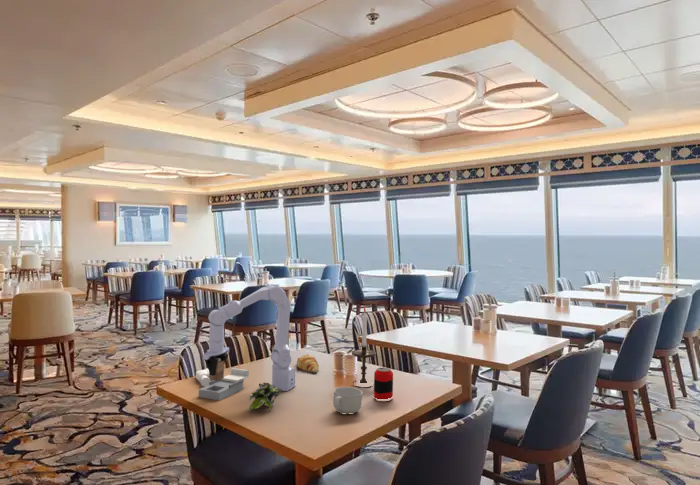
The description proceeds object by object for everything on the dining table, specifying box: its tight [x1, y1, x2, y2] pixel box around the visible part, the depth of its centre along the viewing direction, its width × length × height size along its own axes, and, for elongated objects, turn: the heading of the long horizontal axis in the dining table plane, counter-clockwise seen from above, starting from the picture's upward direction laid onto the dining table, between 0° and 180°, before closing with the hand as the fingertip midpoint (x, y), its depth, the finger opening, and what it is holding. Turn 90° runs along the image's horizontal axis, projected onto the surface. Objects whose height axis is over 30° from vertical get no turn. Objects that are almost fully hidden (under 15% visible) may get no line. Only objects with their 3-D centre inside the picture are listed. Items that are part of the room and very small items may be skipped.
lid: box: [221, 367, 250, 382], centre depth 208 cm, size 8×8×3 cm
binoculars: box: [195, 367, 211, 387], centre depth 216 cm, size 10×16×5 cm, turn 30°
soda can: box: [373, 367, 394, 399], centre depth 195 cm, size 8×8×12 cm
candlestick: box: [351, 306, 377, 383], centre depth 214 cm, size 11×11×35 cm
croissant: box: [296, 354, 320, 373], centre depth 240 cm, size 21×10×8 cm, turn 30°
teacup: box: [332, 386, 364, 414], centre depth 179 cm, size 14×11×8 cm
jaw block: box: [209, 358, 225, 381], centre depth 195 cm, size 4×4×8 cm
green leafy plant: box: [248, 382, 282, 412], centre depth 182 cm, size 11×11×12 cm
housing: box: [198, 379, 245, 401], centre depth 199 cm, size 11×16×4 cm, turn 158°
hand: (216, 373), depth 195 cm, fingers closed on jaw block, 4 cm apart
